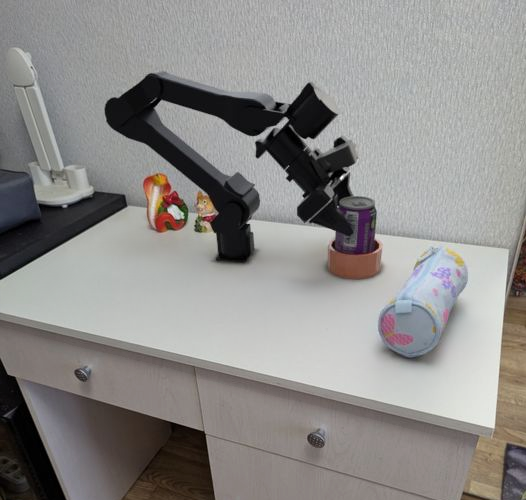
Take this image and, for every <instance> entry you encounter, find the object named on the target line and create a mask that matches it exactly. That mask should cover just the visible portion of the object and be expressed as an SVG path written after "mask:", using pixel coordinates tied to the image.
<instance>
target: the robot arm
mask: <svg viewBox="0 0 526 500" xmlns="http://www.w3.org/2000/svg"><path fill="white" fill-rule="evenodd" d="M162 101H164V102H167V103H170V104H174V105H177V106H179V107H183V108H187V109H190V110H193V111H197V112H200V113H202V114H206V115H210V116H213V117H217V118H218V119H220V120H222V121H224V122H225V123H226V124H227V125H228V126H229V127H231V128H233V129H234V130H236V131H238V132H240V133H242V134H244V135H246V136H248V137H258V136H260V135H262V134H263V133H264V132H265V131H267V130H268V129H270V128H272V127H273V128H272V129H271V130H270V131H269V133H268V134H267V135H266V136H265V137H264V138H258V139H257V140H256V141H255V142H254V144H255V158H256V159H260V158H261V157H263V155H265V154H266V153H267V154H268V155H269V156H270V157H271V158H272V159H273V160H274V161H275V162H276V163H277V164H278V165H279V167H280V168H281V169H282V170H283V171H284V172H285V174H287V176H286V177H285V179H286V180H287V181H288V182H289V183H291V182H292V181H293V183H295V184H296V186H298V187H299V189H301V191H302V192H303V193H302V194H301V197H302V198H303V199H302V200H301V202H300V203H299V204H298V205H297V207H296V216H297V217H298V218H299V219H300V220H301V221H302V222H303V223H304V224H306V223H307V222H308V224H310V225H311V224H315V225H318V226H321V227H323V228H326V229H329V230H332V231H334V232H336V231H337V232H339V233H342V234H344V235H347V236H351V235H352V234H353V233H354V231H353V230H352V228H351V226H350V225H349V223H348V222H347V220H346V219H345V217H344V216H343V214H342V213H341V212H340V210H339V209H338V207H339V205H340V204H339V202H340V200H341V199H343V198H346V197H351V196H354V194H353V192H352V190H351V188H350V179H351V172H350V168H351V167H352V166H353V165H355V164H356V163H357V160H358V159H359V154H358V152H357V150H356V147H357V144H356V143H355V142H353V140H352V138H351V139H348V138H347V137H346V136H345V135H341V136H339V137H336V138H335V139H334V141H333V147H331V148H329V149H328V150H326V151H323V152H322V151H321V150H320V149H319V148H318V147H317V148H316V147H313V149H312V148H311V147H310V145H309V144H308V143H307V142H306V141H305V140H307V139H308V138H309V139H310V140H316V139H317V138H318V137H319V135H320V134H321V133H322V132H323V131H325V129H326V128H327V127H328V126H329V125H330V124H332V123H333V121H334V120H335V119H336V118H337V117H338V116H339V115H340V114H341V111H340V108H339V105H338V103H337V102H336V101H335V100H334V97H332V95H331V94H330V93H327V92H326V91H325V90H323V89H322V88H321V87H319V86H317V85H316V83H315V82H314V81H313V80H311V81H308V82H307V83H306V84H305V85H304V86H303V88H302V89H301V91H300V93H299V94H298V95H297V96H296V97H295V99H294V100H293V101H292V102H291V103H289V102H282V101H278V100H275V98H274V97H273V96H271V94H268V93H265V92H257V91H255V92H254V91H231V90H230V91H229V90H225V89H221V88H217V87H215V86H211V85H208V84H205V83H200V82H198V81H194V80H191V79H187V78H185V77H180V76H177V75H174V74H170V73H169V72H167V71H165V70H157V71H154V72H149V73H148V74H146V75H145V76H144V77H143V79H141V80H140V81H139V82H137V83H136V84H135V85H134V86H132V87H130V88H129V89H128V90H127V91H125V92H124V93H122V94H120V95H116V96H113V97H110V98H108V99H107V101H106V102H105V105H104V116H105V122H106V123H107V125H108V126H109V128H111V129H112V130H113V131H114V132H116V133H118V134H120V135H122V136H123V137H125V138H127V139H129V140H131V141H135V142H137V143H142V144H144V145H146V146H147V147H149V148H150V149H151V150H152V151H154V152H155V153H156V154H157V155H158V156H159V157H161V158H162V159H163V160H165V161H166V162H167V163H169V164H170V165H171V166H172V167H173V168H174V169H176V170H177V171H178V172H179V173H181V174H182V175H183V176H184V177H185V178H187V179H188V180H189V181H191V182H192V183H193V184H194V185H196V187H198V188H199V189H201V190H202V191H203V192H204V193H205V194H206V195H207V196H208V198H209V201H210V202H211V205H212V206H213V208H214V210H215V211H216V212H217V215H216V216H215V217H214V218H213V219H212V220H211V221H210V222H209V225H210V227H211V230H212V233H213V234H215V237H216V248H217V255H216V256H215V261H220V262H231V263H233V262H234V263H247V262H248V261H249V259H250V258H251V256H252V255H253V253H254V252H255V250H256V249H255V236H254V235H255V234H254V232H253V231H252V228H251V223H248V222H249V221H251V220H252V217H253V215H254V214H255V213H256V212H257V211H259V208H260V207H261V206H260V205H261V198H260V193H259V191H258V190H257V189H256V188H255V186H256V183H253V182H250V181H249V180H248V179H246V177H244V175H243V174H242V173H241V172H239V171H236V172H235V173H234V174H232V175H228V174H226V173H223V172H221V170H219V169H218V168H217V167H215V165H213V164H212V163H210V161H208V160H207V159H206V158H205V157H203V156H202V155H201V154H200V153H199V152H197V150H195V149H194V148H192V147H191V146H190V145H189V144H188V143H186V142H185V141H184V140H183V139H182V138H180V137H179V136H178V135H177V134H176V133H174V132H173V131H172V130H171V129H169V128H168V127H167V126H166V125H165V124H164V123H163V122H162V120H161V118H160V116H159V114H158V112H157V109H156V108H157V107H158V106H159V105H160V104H161V103H162ZM286 119H287V120H288V121H287V122H286V123H285V124H284V125H283V126H282V128H278V127H276V126H278V125H279V124H280V123H282V122H283V121H285V120H286ZM344 175H345V176H344Z"/></svg>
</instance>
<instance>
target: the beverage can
mask: <svg viewBox="0 0 526 500" xmlns="http://www.w3.org/2000/svg"><path fill="white" fill-rule="evenodd" d="M339 204H340V205H339V207H338V206H337V207H338V209H339V210H340V212H341V213H342V214H343V216H344V217H345V219H346V220H347V222H348V223H349V225H350V226H351V228H352V230H353V231H354V233H353V234H352V235H351V236H347V235H344V234H342V233H339V232H337V231H335V232H334V233H335V236H334V238H335V250H336V251H338V252H341V253H345V254H352V255H361V254H368V253H371V252H374V240H375V238H376V228H377V216H378V211H377V208H376V206H375V205H376V200H375V199H374V198H371V197H368V196H362V195H361V196H360V195H353V196H351V197H346V198H343V199H341V200H340V202H339Z"/></svg>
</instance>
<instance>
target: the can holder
mask: <svg viewBox="0 0 526 500" xmlns="http://www.w3.org/2000/svg"><path fill="white" fill-rule="evenodd" d="M383 247H384V245H383V243H382V242H381V240H380V239H378V238H376V237H375V240H374V252H371V253H368V254H361V255H352V254H345V253H341V252H338V251H336V250H335V237H334V238H332V239H330V240H329V242H328V244H327V263H326V265H327V269H328V271H329V272H330V273H331V274H333V275H334V276H336V277H339V278H343V279H351V280H358V279H360V280H361V279H367V278H371V277H373V276H375V275H377V274H378V273H379V272H380V270H381V266H382V258H383V257H382V256H383Z"/></svg>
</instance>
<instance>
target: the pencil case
mask: <svg viewBox="0 0 526 500" xmlns="http://www.w3.org/2000/svg"><path fill="white" fill-rule="evenodd" d="M468 271H469V270H468V266H467V264H466V262H465V260H464V259H463V258H462V257H461V256H460V255H459V254H458V253H457V252H455V251H454V250H452V249H450V248H448V247H444V246H443V245H439V247H437V248H436V247H434V246H430V247H429V248H428V249H426V250H425V251H424V252H423V253H422V254H421V255H420V256H419V258H417V259H416V262H415V264H414V267H413V270H412V272H411V274H409V276H408V277H407V278H406V280H405V282H404V284H403V285H402V287H401V288H400V289H399V290H398V291H397V292H396V293H395V294H394V296H393V297H392V298H391V300H389V301H388V302H387V303H386V304H385V305H384V306H383V308H382V310H381V311H380V313H379V315H378V319H377V329H378V330H377V331H378V333H379V336H380V339H381V340H382V342H383V343H384V344H385V345H386V346H387V347H388V348H390V349H391V350H392V351H394V352H395V353H396V354H399V355H401V356H403V357H405V358H416V357H419V356H421V355H425V354H427V353H428V352H430V351H432V350H433V349H435V347H436V346H437V345H438V344H439V342H440V340H441V336H442V334H443V331H444V329H445V328H446V326H447V323H448V319H449V316H450V313H451V311H452V309H453V308H454V306H455V305H456V302H457V301H458V299H459V296H460V294H461V293H462V292H463V291H464V290H465V289H466V287H467V284H468V282H469V272H468Z"/></svg>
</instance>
